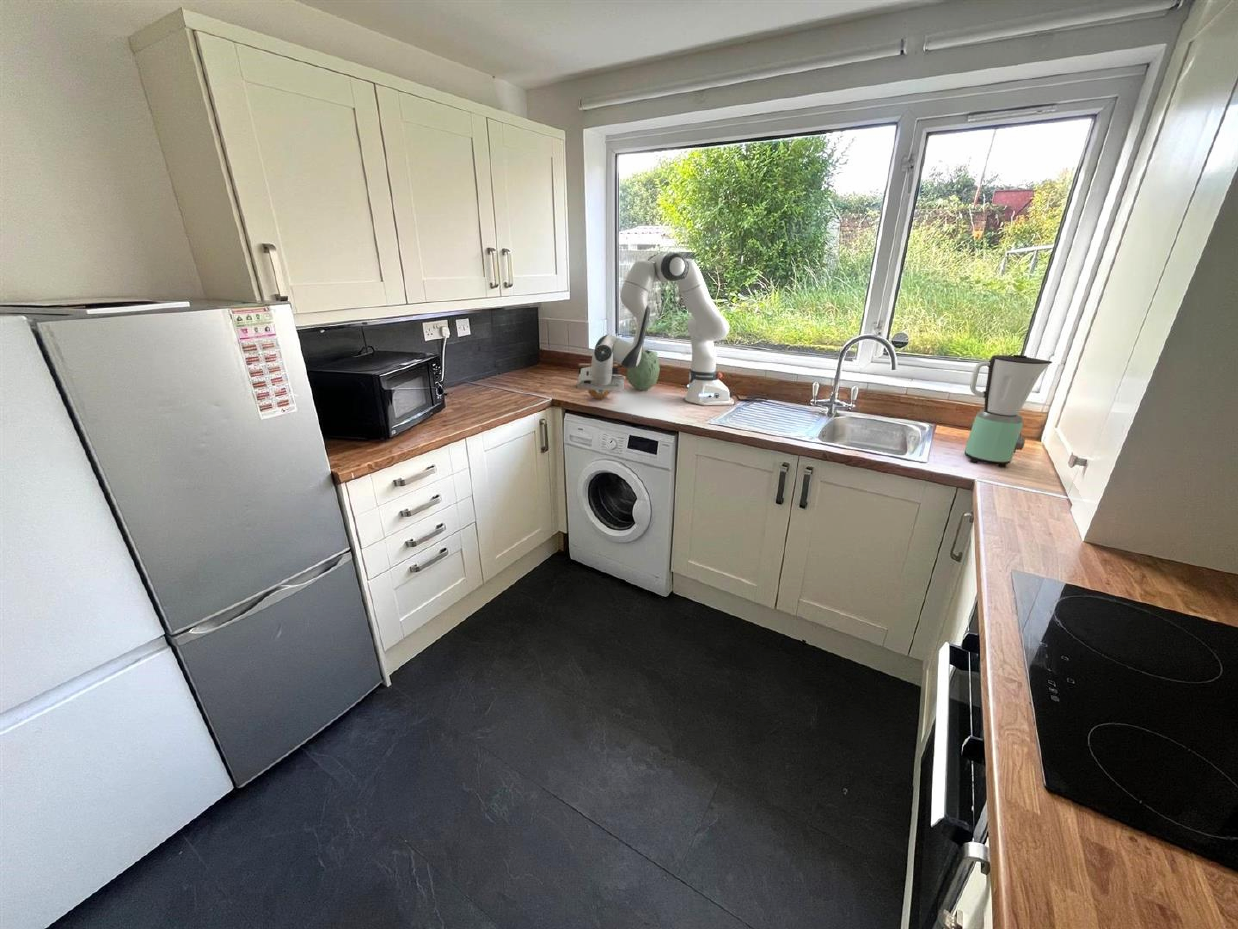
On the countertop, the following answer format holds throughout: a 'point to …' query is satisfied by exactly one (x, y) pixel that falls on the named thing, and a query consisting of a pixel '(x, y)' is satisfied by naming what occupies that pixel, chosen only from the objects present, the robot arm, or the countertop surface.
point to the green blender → (1002, 407)
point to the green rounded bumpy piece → (645, 371)
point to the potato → (600, 396)
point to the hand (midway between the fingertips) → (600, 392)
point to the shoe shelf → (583, 365)
